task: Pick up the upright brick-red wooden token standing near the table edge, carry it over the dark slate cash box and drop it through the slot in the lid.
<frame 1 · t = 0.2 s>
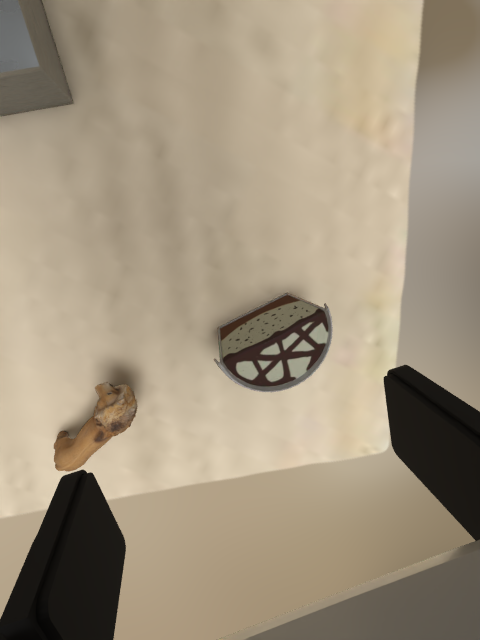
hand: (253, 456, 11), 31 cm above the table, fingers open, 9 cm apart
food container: (262, 331, 43), on the table
lion figurine: (100, 405, 43), on the table
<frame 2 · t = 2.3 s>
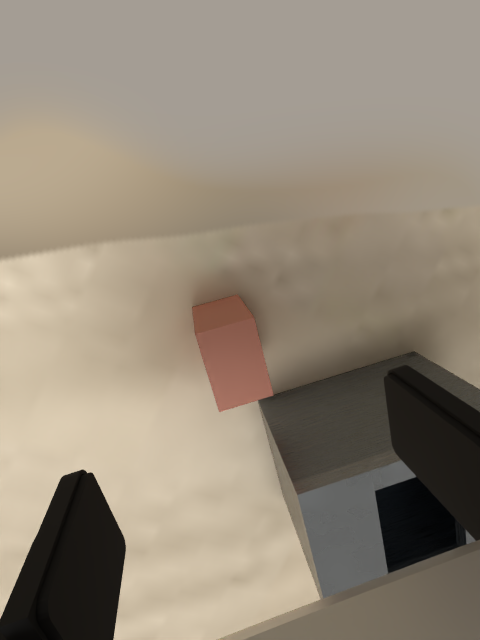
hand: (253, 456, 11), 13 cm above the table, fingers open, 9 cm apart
token: (224, 332, 23), on the table
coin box: (346, 427, 27), on the table
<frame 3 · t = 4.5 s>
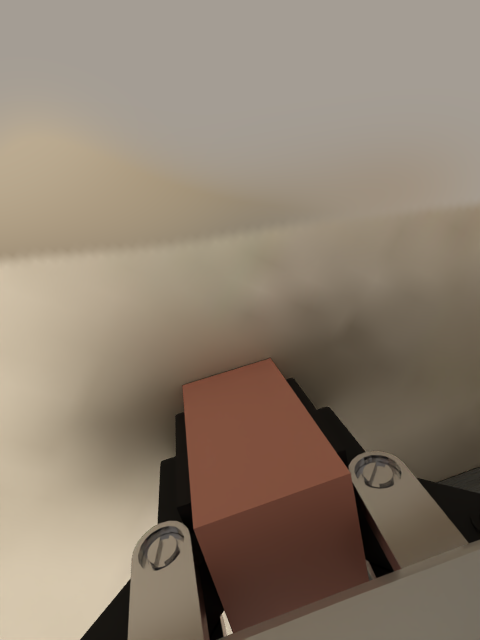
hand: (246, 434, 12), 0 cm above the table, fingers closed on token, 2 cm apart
token: (243, 427, 12), on the table, touching gripper
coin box: (441, 558, 16), on the table
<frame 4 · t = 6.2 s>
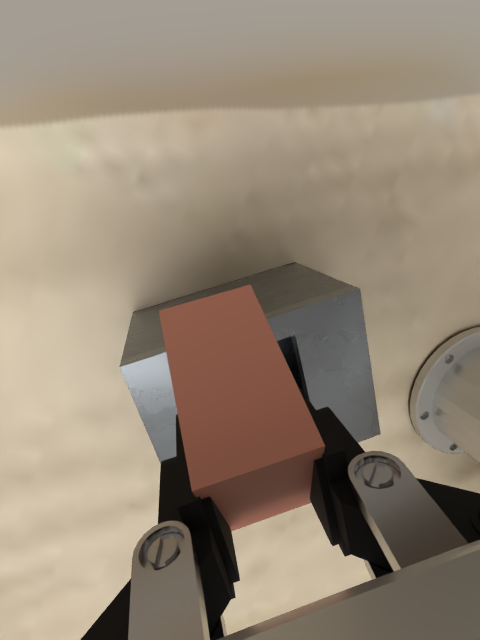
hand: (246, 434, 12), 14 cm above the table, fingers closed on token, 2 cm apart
token: (216, 340, 13), point 12 cm above the table, tilted 29°, touching gripper
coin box: (232, 342, 27), on the table
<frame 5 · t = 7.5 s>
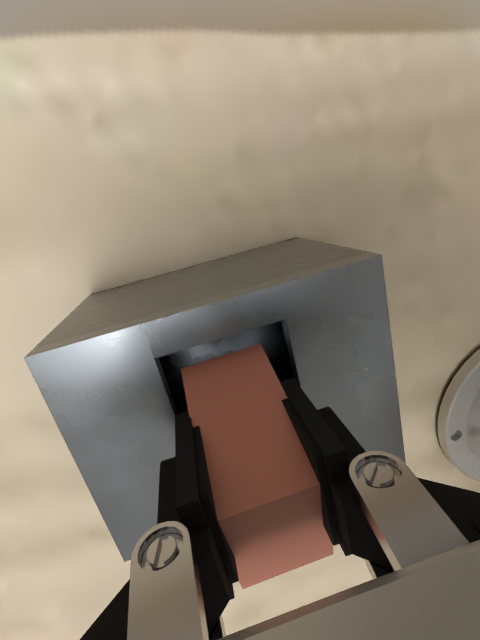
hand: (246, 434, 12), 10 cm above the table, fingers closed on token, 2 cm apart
token: (233, 396, 14), point 8 cm above the table, tilted 18°, touching gripper
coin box: (216, 337, 21), on the table
when the fingers open (10 cm above the table, at t = 8.1 s): token drops 7 cm, resting on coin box.
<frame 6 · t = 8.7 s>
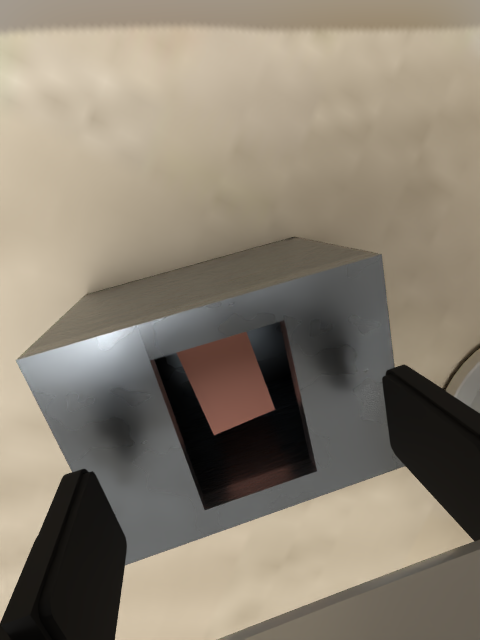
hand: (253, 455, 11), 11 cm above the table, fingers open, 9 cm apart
token: (214, 338, 21), point 1 cm above the table, touching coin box
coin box: (214, 337, 21), on the table
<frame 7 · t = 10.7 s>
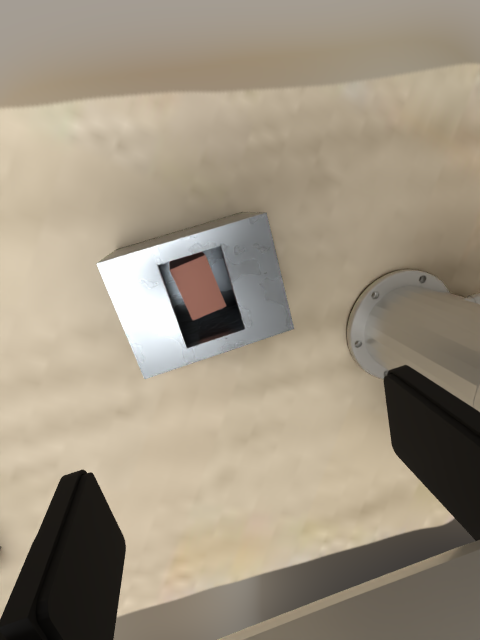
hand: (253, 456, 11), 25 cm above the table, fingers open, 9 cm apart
token: (194, 276, 33), point 1 cm above the table, touching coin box
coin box: (194, 277, 34), on the table
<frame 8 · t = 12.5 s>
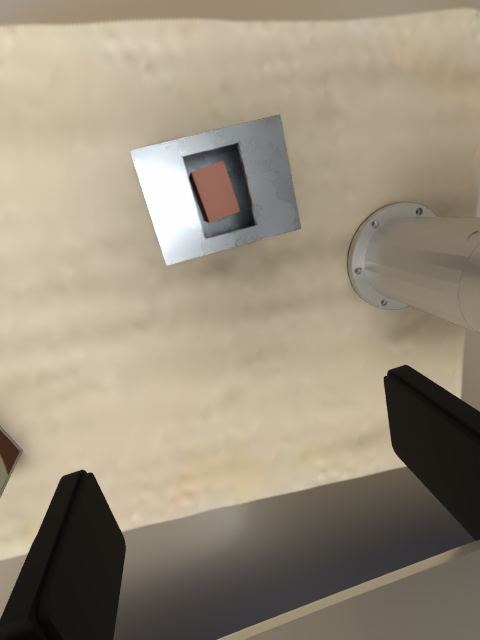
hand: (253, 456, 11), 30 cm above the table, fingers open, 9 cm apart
token: (210, 195, 37), point 1 cm above the table, touching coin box
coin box: (210, 196, 37), on the table
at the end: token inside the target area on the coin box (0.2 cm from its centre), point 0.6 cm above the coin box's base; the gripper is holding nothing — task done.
